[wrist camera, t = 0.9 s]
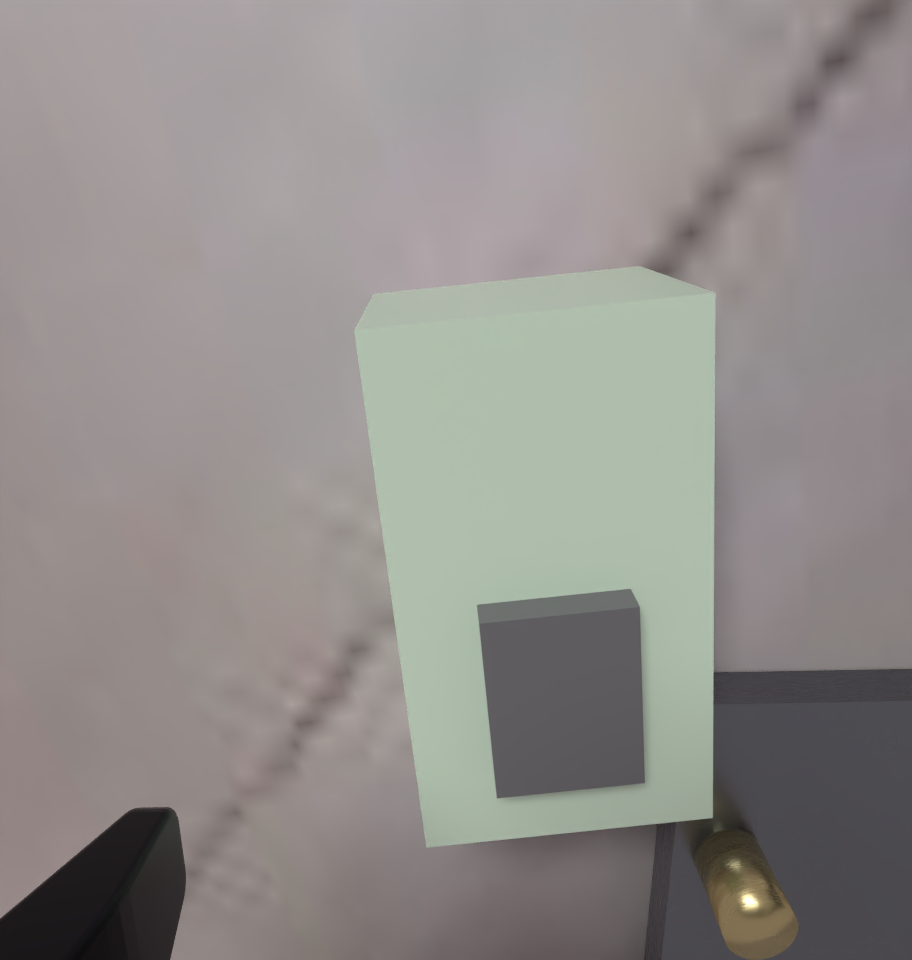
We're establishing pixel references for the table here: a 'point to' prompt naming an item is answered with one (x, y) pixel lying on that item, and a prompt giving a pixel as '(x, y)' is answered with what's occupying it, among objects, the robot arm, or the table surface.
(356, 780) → the table surface
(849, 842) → the chassis
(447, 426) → the pale green block
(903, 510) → the table surface
